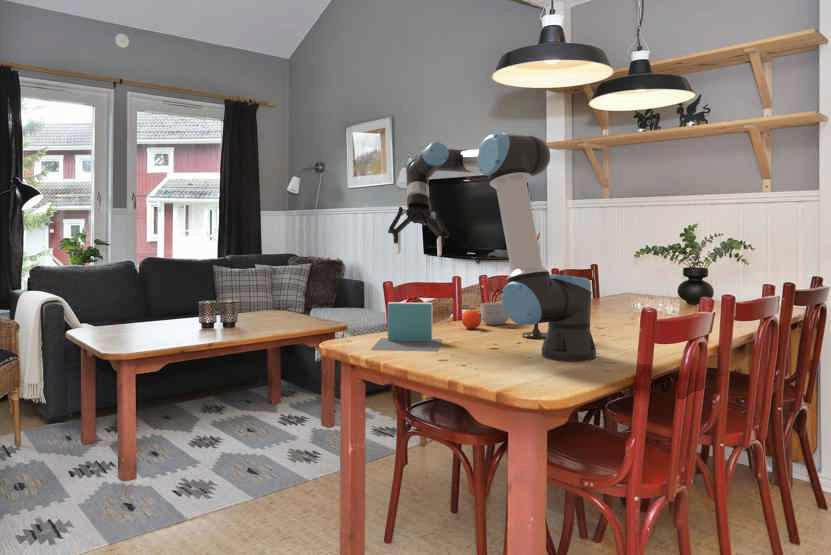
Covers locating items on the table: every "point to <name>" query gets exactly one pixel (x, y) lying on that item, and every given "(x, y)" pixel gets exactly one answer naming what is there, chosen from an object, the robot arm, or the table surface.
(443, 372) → the table surface
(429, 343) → the mat
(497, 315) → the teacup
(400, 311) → the tile
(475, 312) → the clementine
